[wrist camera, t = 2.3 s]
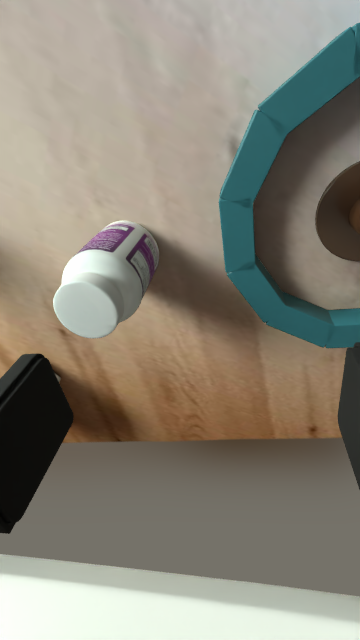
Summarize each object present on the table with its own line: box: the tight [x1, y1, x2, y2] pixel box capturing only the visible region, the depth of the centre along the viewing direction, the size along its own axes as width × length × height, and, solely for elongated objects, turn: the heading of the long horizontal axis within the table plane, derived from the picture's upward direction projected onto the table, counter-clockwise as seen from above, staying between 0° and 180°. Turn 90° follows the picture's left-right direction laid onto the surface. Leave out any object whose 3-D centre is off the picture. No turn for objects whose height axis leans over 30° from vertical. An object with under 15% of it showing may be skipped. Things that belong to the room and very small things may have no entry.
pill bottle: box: [53, 221, 159, 338], centre depth 23 cm, size 5×5×10 cm
